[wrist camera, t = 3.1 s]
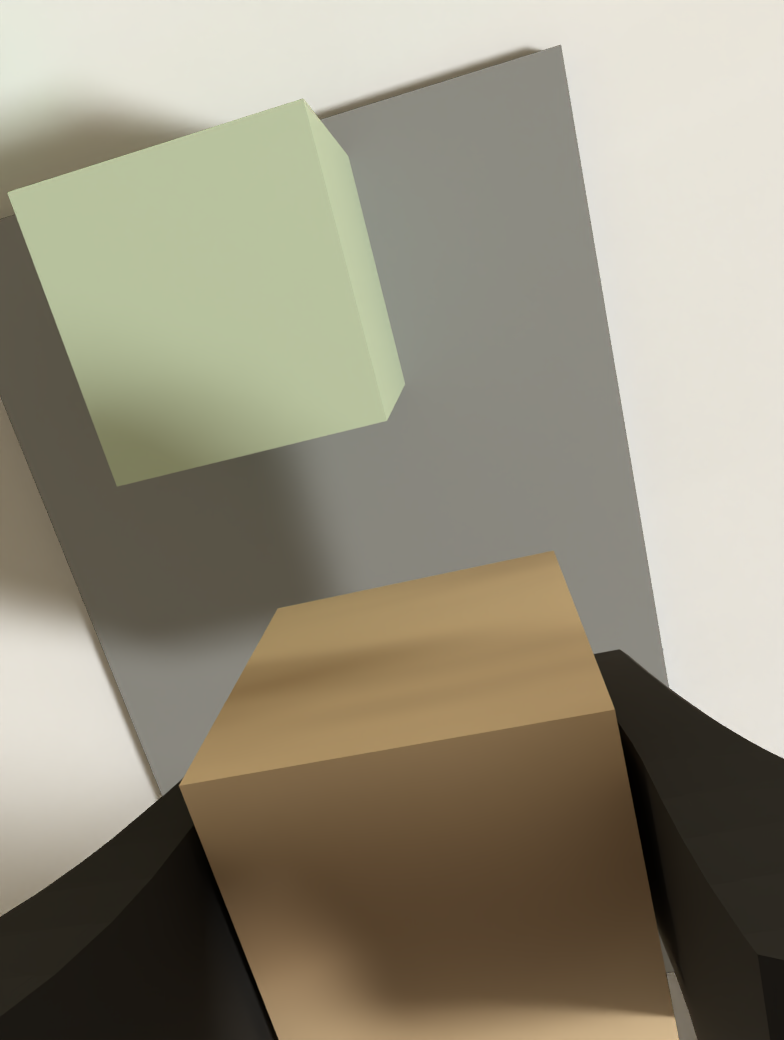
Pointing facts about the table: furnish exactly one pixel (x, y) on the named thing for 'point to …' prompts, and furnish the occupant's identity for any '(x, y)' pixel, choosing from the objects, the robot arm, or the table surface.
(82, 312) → the sage block
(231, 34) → the table surface
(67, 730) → the table surface
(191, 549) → the mat
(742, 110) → the table surface
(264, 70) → the table surface
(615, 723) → the maple block
